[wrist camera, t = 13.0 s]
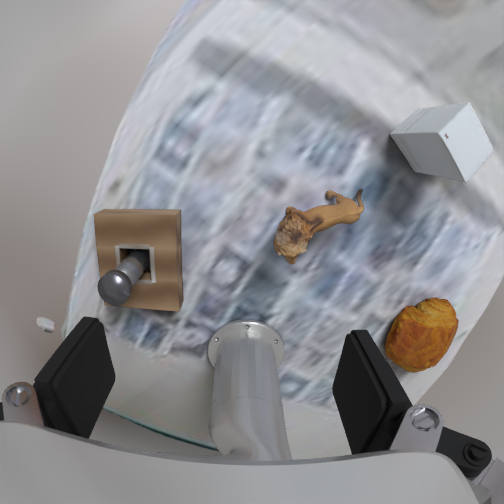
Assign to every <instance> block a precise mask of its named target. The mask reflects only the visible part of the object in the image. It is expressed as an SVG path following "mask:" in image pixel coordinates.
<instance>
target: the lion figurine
mask: <svg viewBox="0 0 504 504" xmlns="http://www.w3.org/2000/svg"><path fill="white" fill-rule="evenodd" d="M362 192H363V189H360V190H359V191H358V192H357V201H358V205H359V206H358V205H357V204H356V203H355V202H354V201H353V200H351V199H349V198H346V197H343V195H341V194H337V193H335V192H333V191H327V192H326V197H327V198H328V199H333V198H336V202H337V204H336V205H322V206H318V207H315V208H312V209H309V210H307V211H305V212H303V211H300V210H297V209H295V208H294V207H287V209H286V213H287V216H285V217H284V219H283V221H281V222H280V224H279V226H278V230H277V231H276V236H275V239H274V245H275V246H274V247H275V250H276V251H277V253H278V255H284V256H285V259H286V261H287V262H288V263H289V264H294V263H295V262H296V259H297V257H298V256H299V254H302V253H304V252H306V251H307V249H306V247H307V245H308V242H309V241H310V239H311V238H312V237H313V235H314V234H315V232H319V231H323V230H325V229H328V228H330V227H332V226H334V225H336V224H339V223H347V224H351V223H354V222H356V221H357V220H359V218H360V214H361V213H362V212H363V210H364V205H363V203H362V201H361V194H362Z"/></svg>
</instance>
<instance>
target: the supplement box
mask: <svg viewBox="0 0 504 504" xmlns="http://www.w3.org/2000/svg"><path fill="white" fill-rule="evenodd" d="M390 136H391V137H392V139H393V140H394V141H395V143H396V144H397V146H398V147H399V149H400V150H401V152H402V153H403V155H404V156H405V158H406V159H407V161H408V162H409V164H410V165H411V167H412V169H413V170H414V171H415V172H417V173H422V174H428V175H433V176H438V177H443V178H448V179H453V180H457V181H462V182H467V181H468V180H469V179H470V177H471V176H472V175H473V174H474V173H475V172H476V171H477V170H478V169H479V167H480V166H481V165H482V164H483V163H484V162H485V161H486V159H487V158H488V157H489V156H490V155H491V154H492V152H493V151H494V150H493V148H492V145H491V143H490V141H489V139H488V137H487V135H486V133H485V131H484V129H483V127H482V125H481V123H480V121H479V119H478V117H477V115H476V114H475V112H474V110H473V108H472V106H471V104H470V103H469V102H467V103H457V104H450V105H443V106H436V107H430V108H423V109H418V110H417V111H415V112H414V113H413V114H412V115H411V116H409V117H408V118H407V119H406V120H405V121H404V122H403V123H402V124H400V125H399V126H398V127H397V128H396V129H395V130H394V131H393V132H391V133H390Z"/></svg>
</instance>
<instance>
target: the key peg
mask: <svg viewBox="0 0 504 504" xmlns="http://www.w3.org/2000/svg"><path fill="white" fill-rule="evenodd" d="M149 265H150V249H134V250H133V251H132V252H131V253H130V254H129V255H128V256H127V257H126V258H125V259H124V260H123V261H122V262H121V263H120V264H119V265H118V266H117V267H116V268H115V269H114V270H109V271H108V272H106V273H105V274H104V275H103V276H102V277H101V278H100V280H99V282H98V292H99V294H100V296H101V298H102V299H103V300H104V301H105V302H106V303H108V304H110V305H113V306H120V305H123V304H124V303H125V302H126V301H127V299H128V298H129V297H130V295H131V293H132V289H133V286H134V284H135V283H136V282H137V280H138V279H139V278H140V276H141V275H142V274H143V273H144V271H145V270H146V269H147V267H148V266H149Z"/></svg>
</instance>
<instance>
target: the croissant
mask: <svg viewBox="0 0 504 504" xmlns="http://www.w3.org/2000/svg"><path fill="white" fill-rule="evenodd" d="M457 328H458V319H457V318H456V313H455V310H454V308H453V307H452V306H451V304H450V303H449V301H448V300H446V299H438V298H436V297H435V298H430V299H425V301H423V302H422V303H419V304H418V305H417V306H416V307H415V306H412V305H411V306H407V307H405V308H404V310H403V311H402V312H401V313H400V314H399V315H398V316H397V318H396V319H395V321H394V322H393V324H392V326H391V329H390V331H389V333H388V336H387V339H386V343H385V349H386V351H385V353H386V356H387V357H388V358H390V359H391V360H392V361H393V362H394V363H395V364H397V365H399V366H400V367H402V368H403V369H404V370H406V371H409V372H418V371H423V370H425V369H427V368H430V367H434V366H435V365H436V364H437V363H438V362H439V361H440V359H441V358H442V357H443V356H444V355H445V353H446V352H447V350H448V349H449V347H450V345H451V343H452V341H453V338H454V336H455V334H456V331H457Z"/></svg>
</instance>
